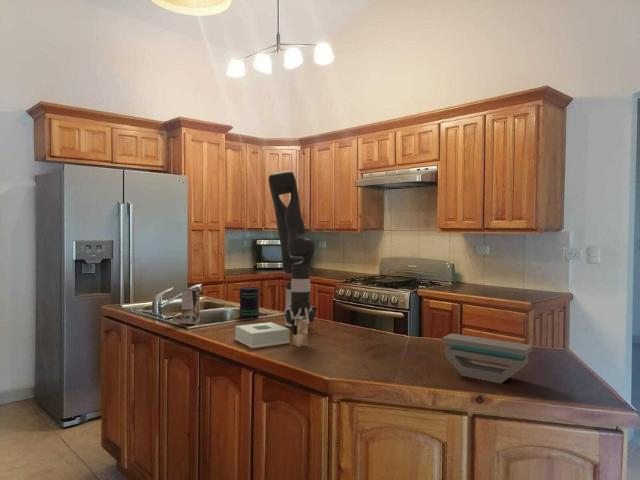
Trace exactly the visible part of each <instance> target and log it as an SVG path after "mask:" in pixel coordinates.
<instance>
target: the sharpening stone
mask: <svg viewBox="0 0 640 480" xmlns="http://www.w3.org/2000/svg"><path fill="white" fill-rule="evenodd" d="M441 343H444V344H448V345H450V346H447V347H445V348H444V355H445V357H446V358H447V359H448V361H449V362H450V363H451V365H453V366H454V368H455V369H456V370H457V372H458V373H459V374H460V375H461V376H462V377H466V376H467V377H466V378H472V379H475V378H476V379H477V380H480V379H481V380H482V381H485V380H486V382H491V383H496V384H502V383H504V382H505V381H506V380H508V379H509V378H510V377H512V376H513V375H515V374H516V373H518V372H519V371H520V370H522V369H523V368H524V367H525V366H526V365H527V364H529V354H530V353H531V352H532V351H533V344H526V343H519V342H513V341H504V340H498V339H491V338H484V337H478V336H473V335H465V334H464V335H463V334H459V333H449V334H447V335H445V336H443V337H441ZM471 359H473V360H479V361H484V362H485V361H486V362H491V363H496V364H500V366H499V365H495V364H488V363H484V362H483V363H482V362H478V361H472V360H471ZM501 364H502V365H507V366H508V367H505V366H501ZM476 379H475V380H476Z"/></svg>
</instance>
